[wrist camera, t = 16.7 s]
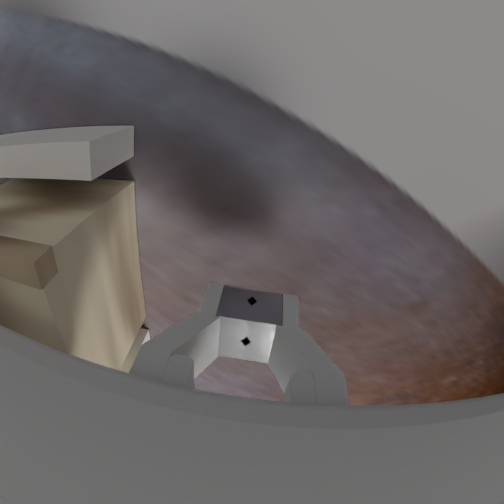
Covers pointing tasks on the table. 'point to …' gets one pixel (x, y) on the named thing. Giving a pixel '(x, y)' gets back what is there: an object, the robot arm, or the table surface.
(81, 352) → the box
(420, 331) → the table surface
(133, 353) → the bay
